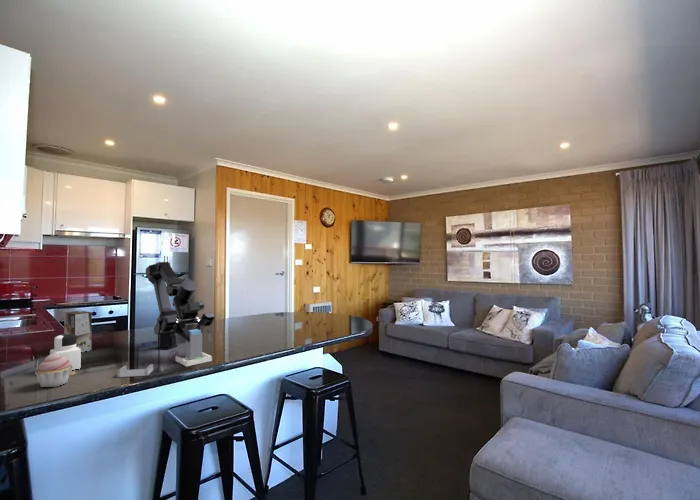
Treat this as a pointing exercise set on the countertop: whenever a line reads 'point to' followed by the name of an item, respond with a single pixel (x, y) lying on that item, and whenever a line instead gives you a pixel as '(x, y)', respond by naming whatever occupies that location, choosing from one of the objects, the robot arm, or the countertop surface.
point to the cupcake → (54, 370)
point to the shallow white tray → (134, 371)
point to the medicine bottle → (68, 349)
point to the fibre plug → (194, 344)
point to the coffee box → (79, 328)
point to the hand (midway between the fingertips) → (195, 340)
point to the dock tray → (194, 360)
